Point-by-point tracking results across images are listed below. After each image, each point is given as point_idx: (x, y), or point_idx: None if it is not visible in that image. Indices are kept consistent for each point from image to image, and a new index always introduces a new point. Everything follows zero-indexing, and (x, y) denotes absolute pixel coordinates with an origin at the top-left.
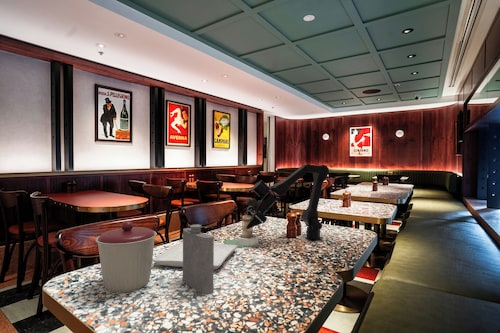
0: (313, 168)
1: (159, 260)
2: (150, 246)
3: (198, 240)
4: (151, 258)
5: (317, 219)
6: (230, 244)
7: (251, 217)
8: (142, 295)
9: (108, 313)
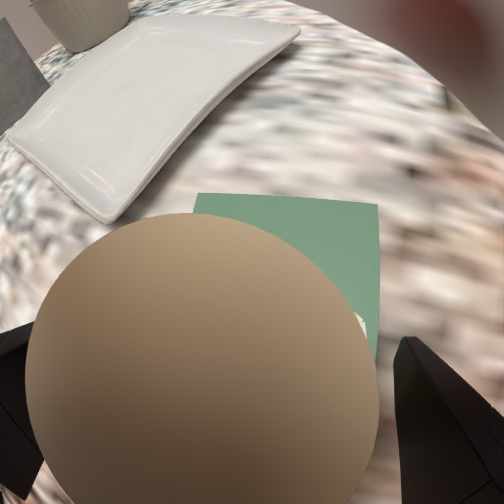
0: None
1: (125, 27)
2: (39, 12)
3: None
4: (56, 25)
5: None
6: (256, 225)
7: (52, 447)
8: (53, 63)
9: (47, 56)
